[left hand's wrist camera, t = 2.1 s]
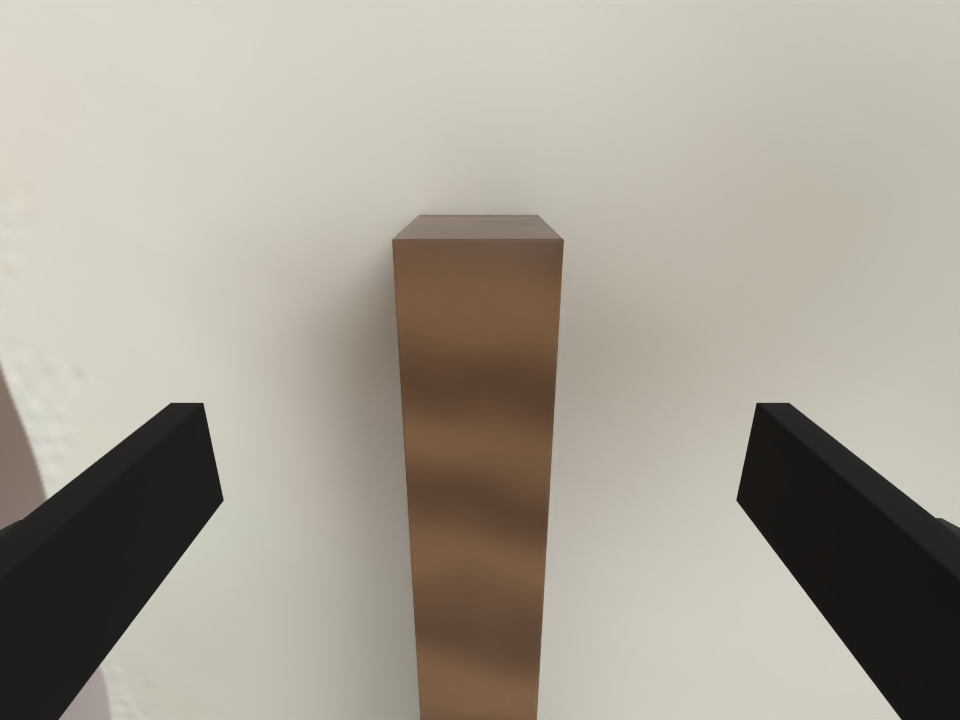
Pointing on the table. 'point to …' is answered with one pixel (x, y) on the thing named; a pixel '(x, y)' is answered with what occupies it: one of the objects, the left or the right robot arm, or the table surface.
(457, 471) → the beam
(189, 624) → the table surface
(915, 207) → the table surface
